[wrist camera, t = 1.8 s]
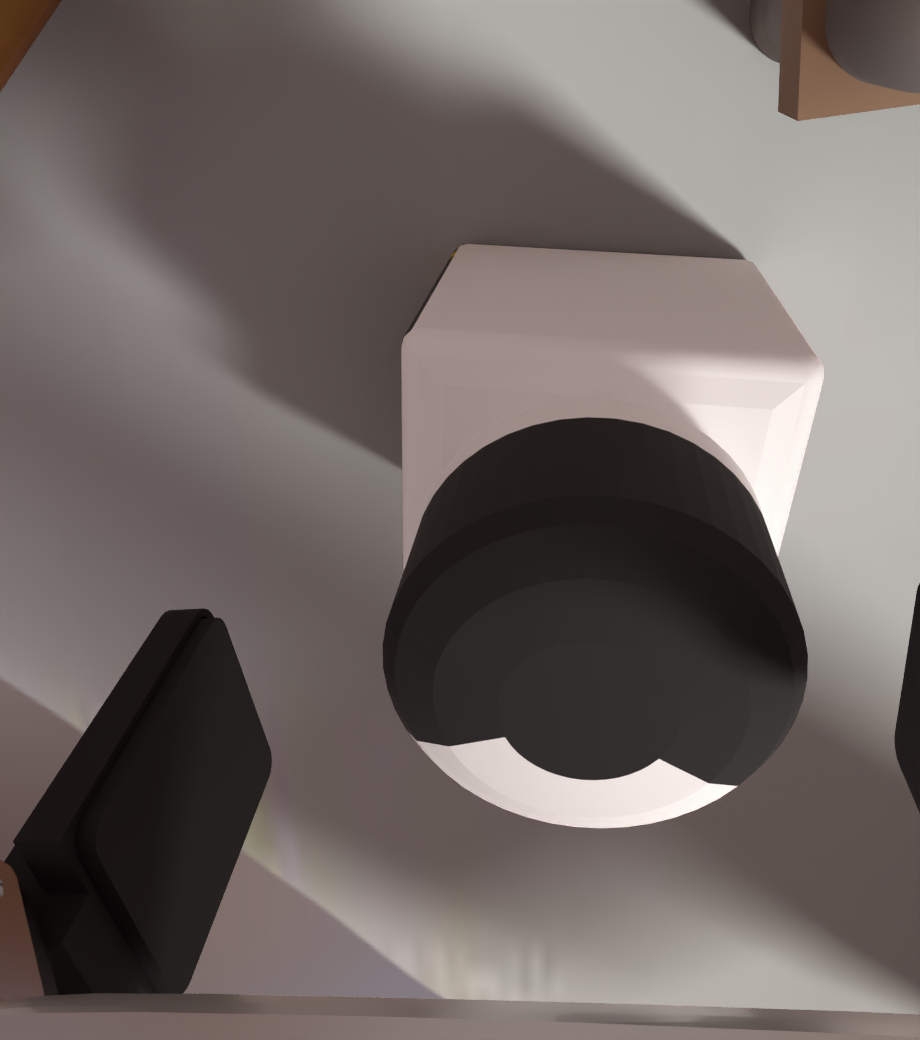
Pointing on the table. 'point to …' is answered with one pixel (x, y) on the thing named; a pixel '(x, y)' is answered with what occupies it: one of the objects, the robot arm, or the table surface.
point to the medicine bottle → (599, 530)
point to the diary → (20, 30)
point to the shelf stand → (840, 54)
